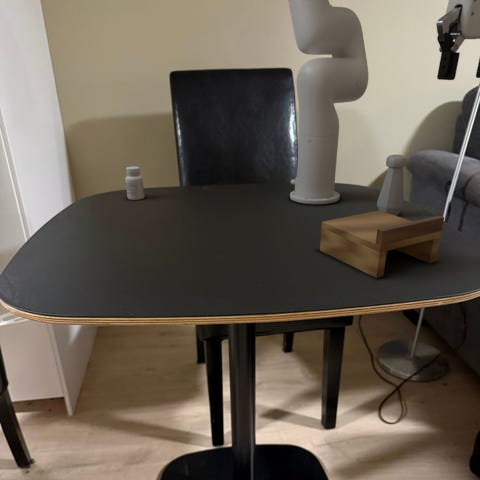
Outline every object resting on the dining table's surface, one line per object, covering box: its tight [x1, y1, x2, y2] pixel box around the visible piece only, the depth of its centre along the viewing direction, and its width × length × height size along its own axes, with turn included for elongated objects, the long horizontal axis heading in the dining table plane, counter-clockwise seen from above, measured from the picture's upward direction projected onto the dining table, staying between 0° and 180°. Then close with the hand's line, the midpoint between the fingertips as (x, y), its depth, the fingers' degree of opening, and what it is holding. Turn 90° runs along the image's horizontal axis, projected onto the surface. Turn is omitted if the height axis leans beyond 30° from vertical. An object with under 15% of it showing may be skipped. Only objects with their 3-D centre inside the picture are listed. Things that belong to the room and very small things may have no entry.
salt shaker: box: [376, 154, 408, 216], centre depth 107 cm, size 6×6×13 cm
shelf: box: [319, 209, 445, 279], centre depth 85 cm, size 15×14×8 cm
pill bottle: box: [124, 165, 145, 201], centre depth 123 cm, size 4×4×8 cm
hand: (465, 78), depth 82 cm, fingers open, 9 cm apart
